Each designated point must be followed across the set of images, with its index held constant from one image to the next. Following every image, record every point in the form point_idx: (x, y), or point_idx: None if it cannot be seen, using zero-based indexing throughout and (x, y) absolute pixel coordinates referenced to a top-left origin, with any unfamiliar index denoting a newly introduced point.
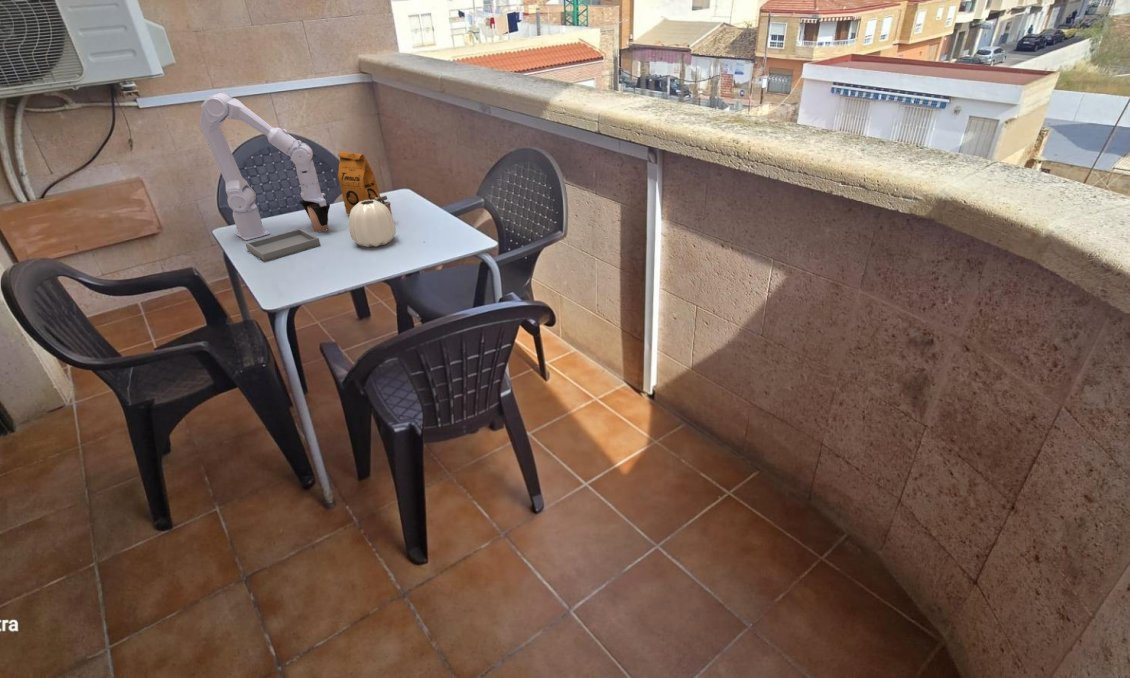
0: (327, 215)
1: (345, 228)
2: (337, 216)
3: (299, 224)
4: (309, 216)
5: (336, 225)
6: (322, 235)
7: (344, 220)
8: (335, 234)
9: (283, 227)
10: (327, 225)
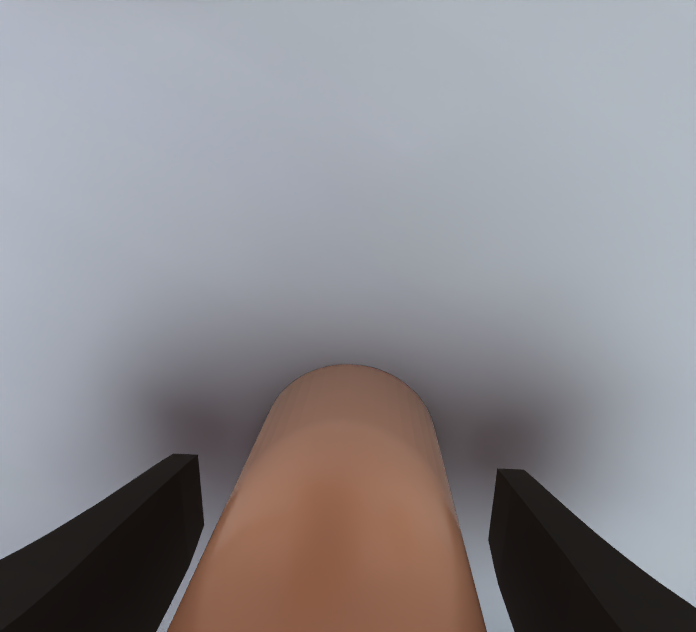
0: (637, 573)
1: (596, 243)
2: (16, 50)
3: (23, 509)
4: (172, 595)
5: (381, 262)
6: None
7: (271, 71)
8: (670, 430)
9: None
10: (414, 408)
